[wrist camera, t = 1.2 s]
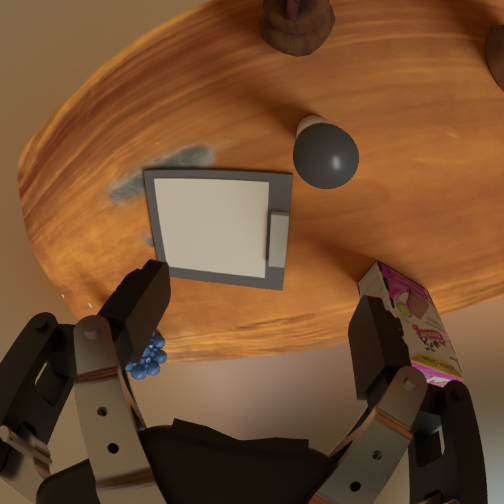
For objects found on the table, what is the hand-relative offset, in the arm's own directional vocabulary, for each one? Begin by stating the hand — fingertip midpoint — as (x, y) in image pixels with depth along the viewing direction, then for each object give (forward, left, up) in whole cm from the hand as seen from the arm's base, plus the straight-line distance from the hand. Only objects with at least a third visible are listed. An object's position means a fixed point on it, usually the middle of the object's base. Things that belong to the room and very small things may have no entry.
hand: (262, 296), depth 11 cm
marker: (-4, +3, -21) cm, 22 cm away
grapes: (+31, -23, -21) cm, 44 cm away
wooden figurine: (-15, +1, -21) cm, 26 cm away
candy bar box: (+15, +17, -21) cm, 31 cm away
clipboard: (+9, -8, -21) cm, 24 cm away
